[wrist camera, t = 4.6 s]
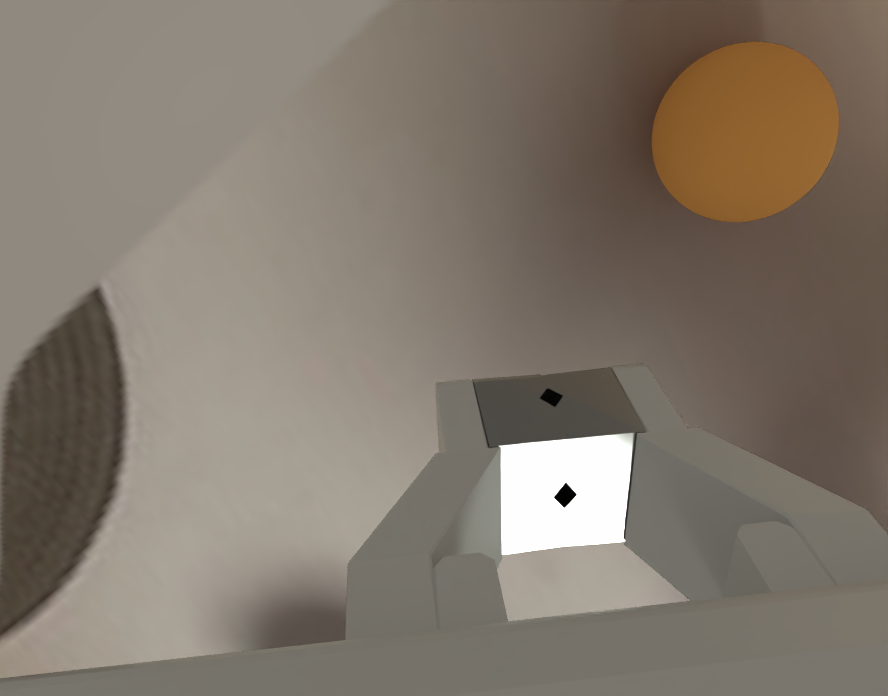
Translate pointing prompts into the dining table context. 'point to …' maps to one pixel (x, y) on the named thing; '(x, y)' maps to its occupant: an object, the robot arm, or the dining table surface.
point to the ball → (745, 131)
